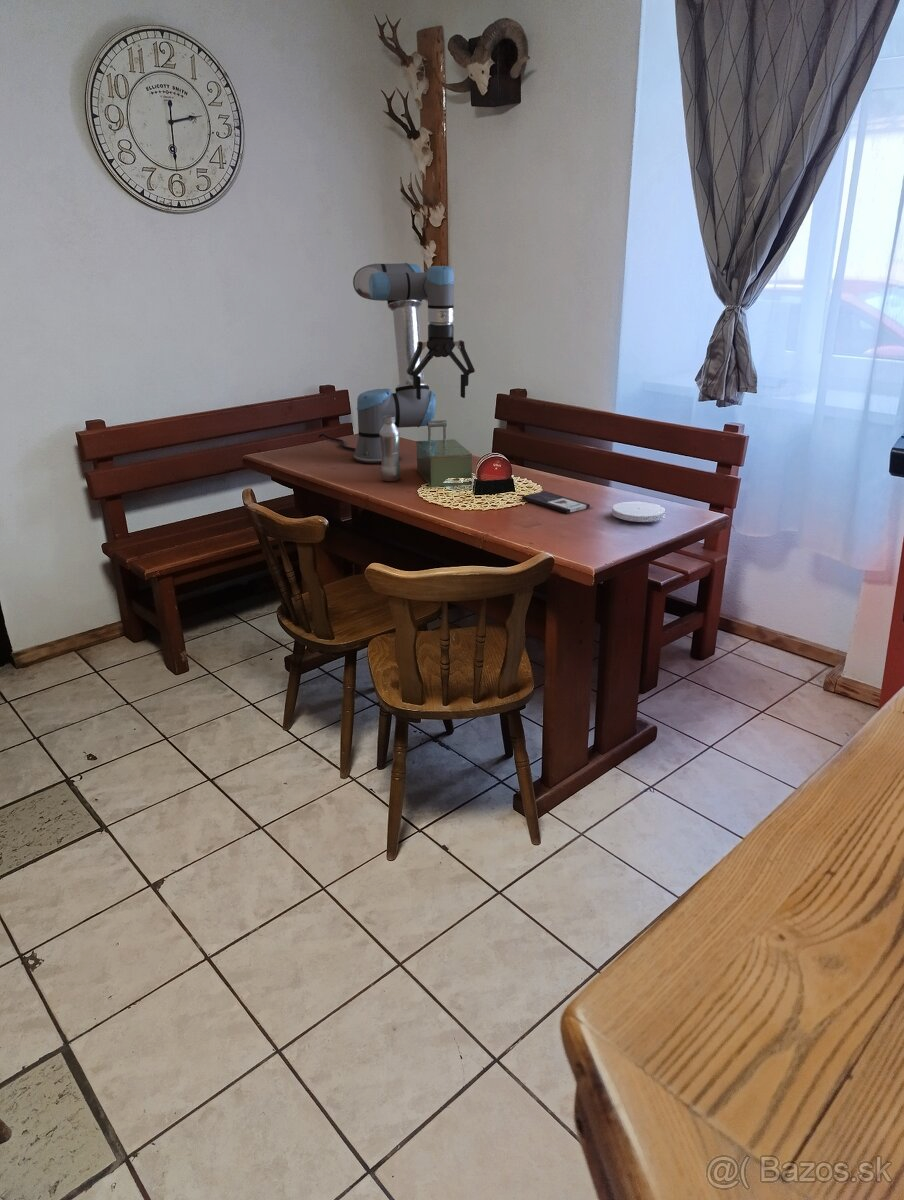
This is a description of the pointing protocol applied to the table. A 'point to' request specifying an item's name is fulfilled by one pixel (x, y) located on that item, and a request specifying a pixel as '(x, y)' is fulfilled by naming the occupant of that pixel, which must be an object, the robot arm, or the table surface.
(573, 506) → the chocolate bar
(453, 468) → the green open box
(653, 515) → the plastic lid
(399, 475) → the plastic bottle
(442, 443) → the bin lid
